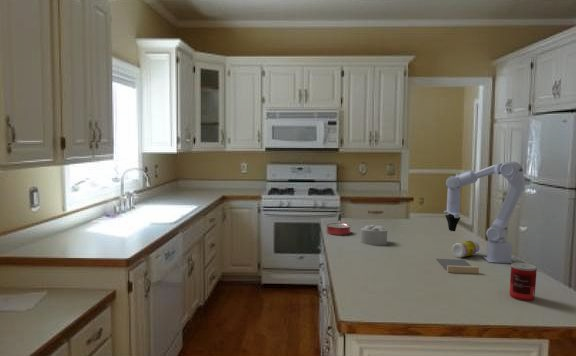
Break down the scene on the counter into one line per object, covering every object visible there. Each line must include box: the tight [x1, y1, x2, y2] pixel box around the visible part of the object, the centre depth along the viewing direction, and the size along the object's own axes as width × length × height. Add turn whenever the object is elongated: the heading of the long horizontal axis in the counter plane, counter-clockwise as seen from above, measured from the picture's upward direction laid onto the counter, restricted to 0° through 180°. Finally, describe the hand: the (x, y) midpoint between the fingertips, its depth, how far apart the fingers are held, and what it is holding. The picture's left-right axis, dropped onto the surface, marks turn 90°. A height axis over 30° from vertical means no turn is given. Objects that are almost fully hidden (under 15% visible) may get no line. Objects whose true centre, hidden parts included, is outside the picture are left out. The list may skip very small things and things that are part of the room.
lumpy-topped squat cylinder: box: [359, 224, 388, 246], centre depth 230 cm, size 10×13×9 cm
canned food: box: [509, 262, 538, 302], centre depth 153 cm, size 8×8×11 cm
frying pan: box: [326, 214, 351, 236], centre depth 261 cm, size 32×13×6 cm, turn 178°
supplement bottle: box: [451, 240, 480, 258], centre depth 206 cm, size 7×7×13 cm
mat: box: [436, 258, 480, 274], centre depth 189 cm, size 12×19×2 cm, turn 175°
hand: (452, 230), depth 212 cm, fingers closed
